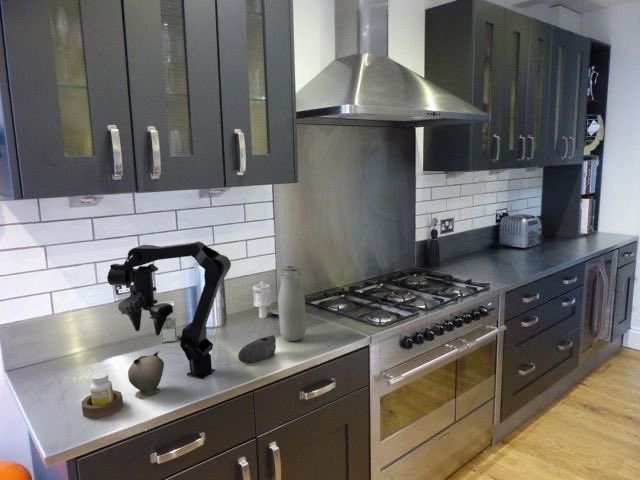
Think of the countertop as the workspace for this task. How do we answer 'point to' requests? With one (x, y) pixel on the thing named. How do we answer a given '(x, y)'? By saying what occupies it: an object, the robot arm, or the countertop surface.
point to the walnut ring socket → (102, 407)
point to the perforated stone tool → (258, 349)
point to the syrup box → (169, 326)
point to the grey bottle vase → (291, 305)
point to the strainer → (261, 298)
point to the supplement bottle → (101, 390)
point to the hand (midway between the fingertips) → (147, 333)
